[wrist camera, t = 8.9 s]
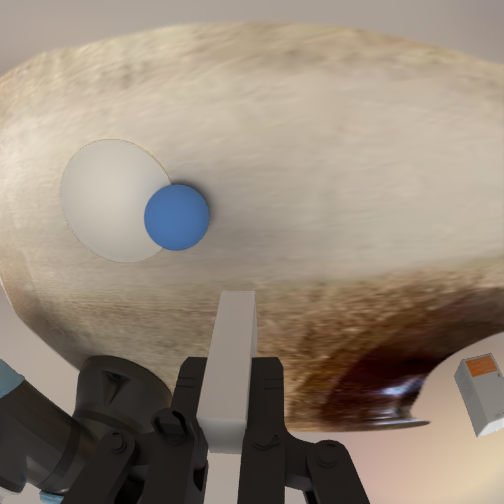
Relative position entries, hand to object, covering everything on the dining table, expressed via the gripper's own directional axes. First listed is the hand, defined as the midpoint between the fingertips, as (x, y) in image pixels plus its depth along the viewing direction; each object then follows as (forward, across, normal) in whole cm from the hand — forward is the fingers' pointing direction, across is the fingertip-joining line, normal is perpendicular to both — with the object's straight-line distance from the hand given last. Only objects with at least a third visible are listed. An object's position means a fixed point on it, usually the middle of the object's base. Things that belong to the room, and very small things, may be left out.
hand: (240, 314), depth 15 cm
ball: (+13, +6, 0) cm, 14 cm away
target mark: (+15, +14, 0) cm, 20 cm away
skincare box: (+15, -32, +26) cm, 44 cm away
